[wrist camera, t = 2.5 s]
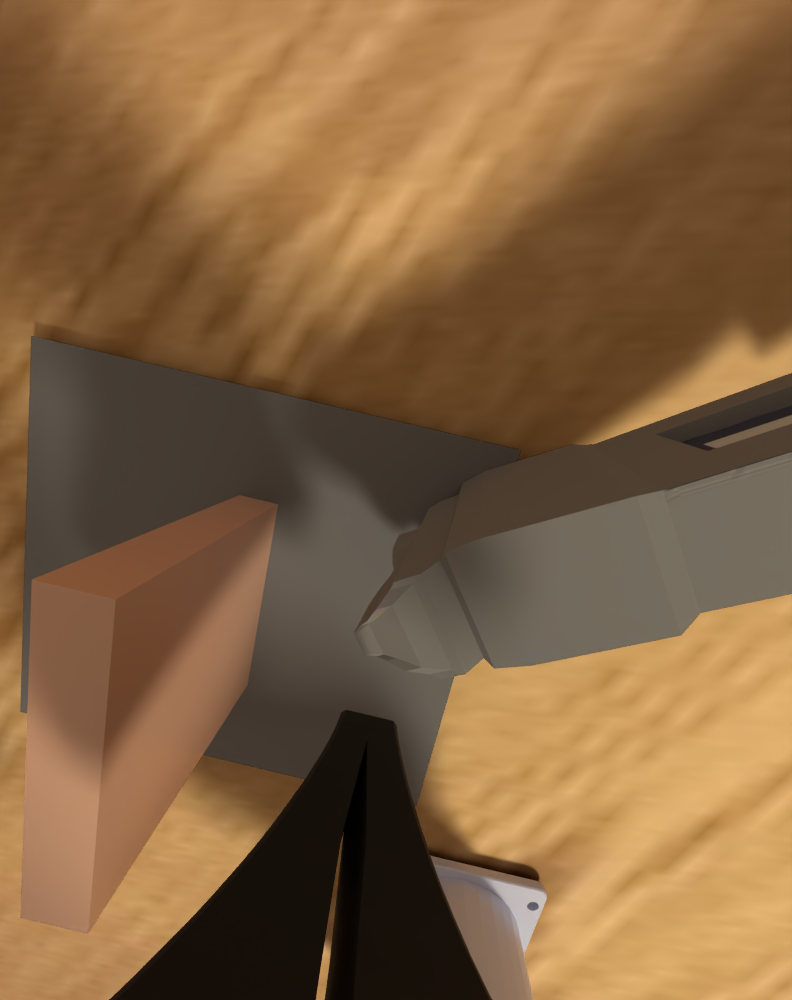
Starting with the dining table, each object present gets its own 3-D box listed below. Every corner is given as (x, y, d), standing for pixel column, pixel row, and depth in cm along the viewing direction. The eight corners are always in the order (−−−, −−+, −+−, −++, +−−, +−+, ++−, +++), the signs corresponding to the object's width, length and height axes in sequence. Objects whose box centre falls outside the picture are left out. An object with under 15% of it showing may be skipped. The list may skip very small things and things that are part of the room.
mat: (416, 792, 17) (416, 805, 17) (33, 701, 17) (20, 711, 17) (516, 449, 14) (521, 450, 14) (46, 339, 14) (31, 335, 14)
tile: (247, 685, 16) (87, 934, 8) (205, 675, 16) (7, 914, 8) (278, 504, 14) (115, 599, 7) (232, 493, 14) (15, 575, 7)
